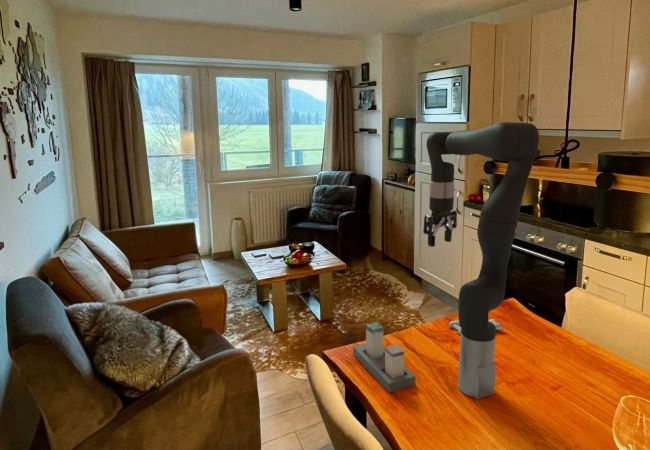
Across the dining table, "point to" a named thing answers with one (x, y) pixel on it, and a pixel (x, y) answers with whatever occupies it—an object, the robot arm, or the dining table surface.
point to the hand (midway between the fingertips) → (439, 243)
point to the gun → (457, 326)
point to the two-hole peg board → (387, 367)
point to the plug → (374, 340)
